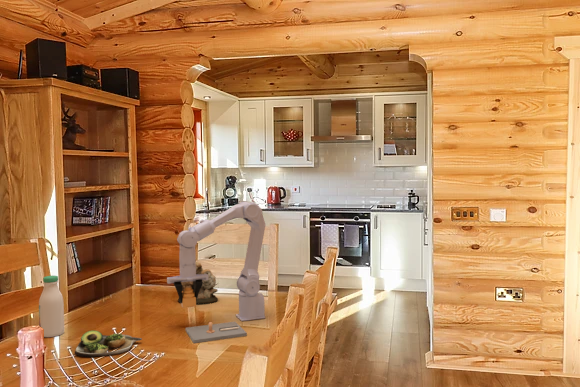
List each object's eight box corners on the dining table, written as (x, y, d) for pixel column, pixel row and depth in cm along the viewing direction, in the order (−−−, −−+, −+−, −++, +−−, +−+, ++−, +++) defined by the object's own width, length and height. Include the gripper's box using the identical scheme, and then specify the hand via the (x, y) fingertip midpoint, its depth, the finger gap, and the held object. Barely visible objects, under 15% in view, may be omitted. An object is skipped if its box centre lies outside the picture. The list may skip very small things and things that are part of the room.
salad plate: (143, 336, 166) (143, 322, 166) (139, 355, 149) (139, 340, 148) (83, 340, 162) (82, 327, 162) (71, 360, 144) (71, 345, 144)
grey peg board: (235, 324, 177) (235, 312, 177) (246, 335, 164) (246, 323, 164) (185, 330, 170) (185, 318, 170) (193, 343, 158) (193, 330, 157)
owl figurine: (173, 305, 204) (172, 265, 203) (178, 298, 215) (177, 260, 215) (216, 304, 205) (216, 264, 204) (219, 297, 217) (218, 259, 216)
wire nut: (193, 303, 179) (193, 285, 178) (196, 306, 174) (195, 288, 174) (180, 304, 177) (180, 286, 176) (183, 307, 173) (182, 289, 172)
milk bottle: (69, 331, 170) (68, 275, 169) (52, 338, 163) (50, 279, 162) (52, 329, 173) (50, 273, 172) (34, 336, 165) (32, 278, 165)
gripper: (168, 267, 168) (169, 306, 169) (210, 264, 174) (210, 301, 175) (165, 264, 175) (166, 301, 175) (205, 261, 181) (206, 297, 181)
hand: (188, 301), depth 175 cm, fingers closed on wire nut, 5 cm apart
